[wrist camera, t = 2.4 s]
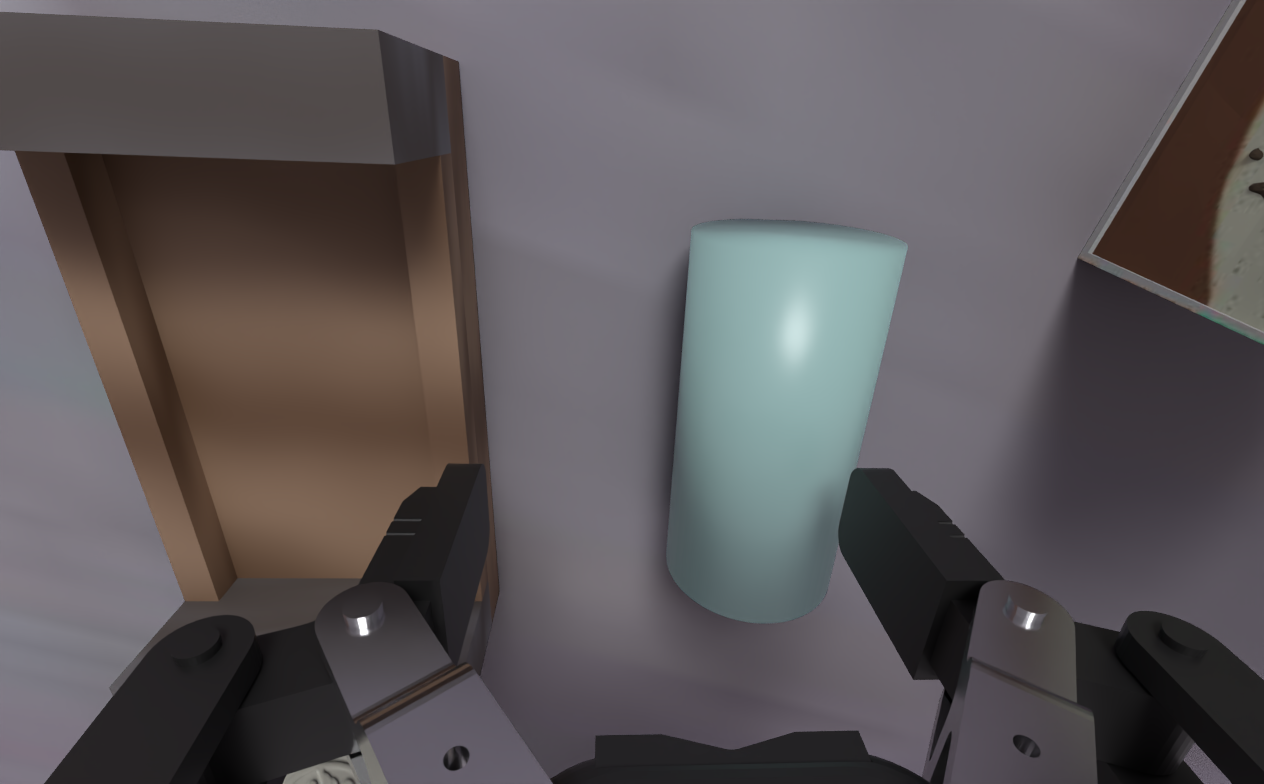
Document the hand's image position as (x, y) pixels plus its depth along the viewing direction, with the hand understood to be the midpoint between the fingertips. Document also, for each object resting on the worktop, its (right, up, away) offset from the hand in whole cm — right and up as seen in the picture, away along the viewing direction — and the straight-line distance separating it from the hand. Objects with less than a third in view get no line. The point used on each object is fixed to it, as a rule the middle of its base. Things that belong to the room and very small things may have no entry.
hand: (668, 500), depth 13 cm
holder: (-10, +3, +5) cm, 11 cm away
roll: (+3, +2, +3) cm, 5 cm away
